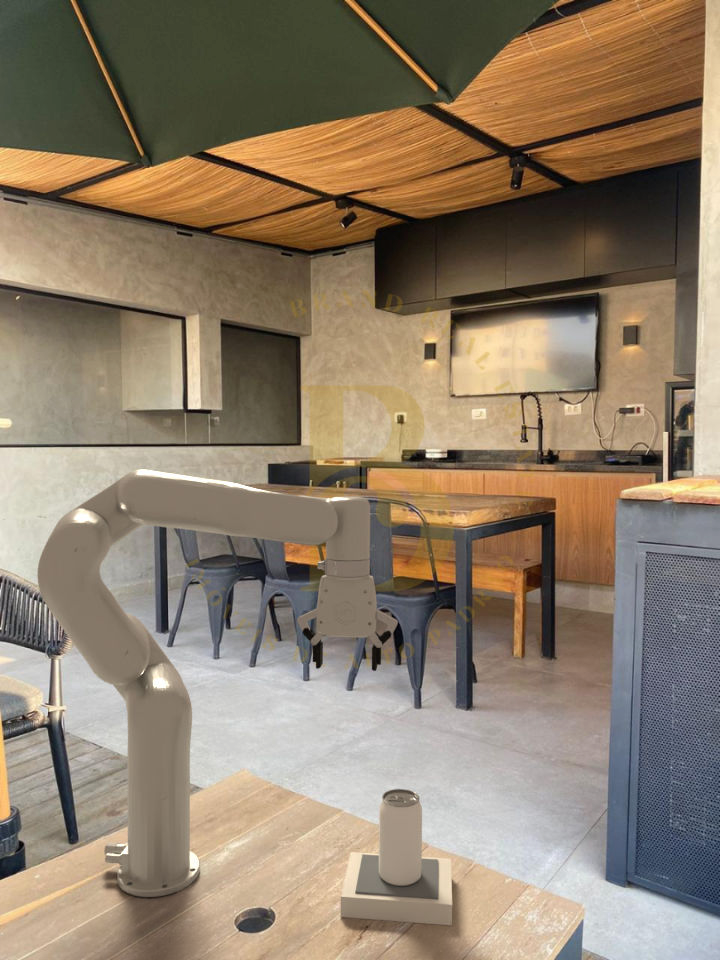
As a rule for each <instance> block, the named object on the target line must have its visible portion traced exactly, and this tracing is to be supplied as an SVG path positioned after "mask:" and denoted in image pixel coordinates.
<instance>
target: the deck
mask: <svg viewBox="0 0 720 960" xmlns="http://www.w3.org/2000/svg"><path fill="white" fill-rule="evenodd" d="M452 891H453V890H452V858H447V857H446V858H442V857H431V856H430V857H429V856H422V862H421V877H420V879H419V880H418V881H417V882H416V883H414V884H412V885H409V886H393V885H390V884H388V883H386V882H385V881H384V880H383V879H382V878H381V877H380V875H379V853H372V852H355V851H350V854H349V859H348V862H347V866H346V872H345V876H344V881H343V885H342V890H341V895H340V918H350V919H363V920H377V921H387V922H388V921H389V922H402V923H403V922H404V923H415V924H427V925H439V926H441V925H442V926H453V892H452Z"/></svg>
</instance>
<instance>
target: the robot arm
mask: <svg viewBox="0 0 720 960" xmlns="http://www.w3.org/2000/svg"><path fill="white" fill-rule="evenodd" d="M370 504H371V503H370V502H369V500H368V499H367V498H365V497H361V496H334V497H330V498H329V497H317V496H309V495H295V494H289V493H288V494H287V493H280V492H274V491H268V490H263V489H258V488H254V487H250V486H246V485H243V484H239V483H235V482H231V481H228V480H227V481H226V480H220V479H211V478H204V477H199V476H191V475H184V474H179V473H177V474H176V473H171V472H164V471H158V470H156V471H155V470H151V469H144V468H142V469H140V468H139V469H135V470H132V471H130V472H128V473H127V474H125V475H123V476H122V477H121V478H119V479H118V480H117V481H115V482H114V483H111V485H109V486H107V487H105V488H104V489H103V490H102V491H100V492H98V493H97V494H96V495H93V496H92V497H90V498H89V499H87V500H86V501H84V502H82V503H81V504H80V505H78V506H76V507H75V508H73V509H71V510H70V511H69V512H67V513H65V514H64V515H63V516H62V517H61V518H60V519H59V520H58V522H57V523H56V525H55V526H54V528H53V529H52V532H51V534H50V536H49V537H48V539H47V541H46V543H45V545H44V546H43V549H42V552H41V555H40V558H39V561H38V564H37V585H38V590H39V592H40V596H41V597H42V600H43V602H44V604H45V605H46V607H47V609H48V610H49V611H50V613H51V614H52V615H53V618H55V620H56V621H57V622H58V624H59V625H60V627H61V628H62V630H63V631H64V633H65V635H67V637H68V639H70V641H71V642H72V644H73V645H74V646H75V648H76V649H77V651H78V652H79V653H80V654H81V656H82V657H83V658H84V660H85V661H86V663H87V664H88V667H89V668H90V669H91V672H93V674H94V675H96V677H97V678H98V679H100V680H101V681H103V682H104V683H106V684H109V685H112V686H113V687H114V688H115V689H116V691H117V692H118V693H119V695H120V696H121V697H122V698H123V701H125V706H126V716H127V757H126V758H127V759H126V760H127V766H126V768H127V769H126V770H127V772H126V773H127V775H126V777H127V778H126V779H127V781H126V782H127V841H126V842H125V843H119V842H111V841H107V843H106V844H105V845H104V851H103V852H104V855H105V857H104V862H105V863H108V864H119V868H118V870H117V874H116V875H117V877H116V878H117V885H118V886H119V887H120V889H121V890H122V891H124V892H125V893H127V894H129V895H132V896H136V897H141V898H157V897H164V896H167V895H171V894H174V893H176V892H180V891H181V890H183V889H185V888H186V887H188V886H190V885H191V884H192V883H193V882H194V881H195V880H196V879H197V877H198V875H199V873H200V869H201V862H200V859H199V857H198V855H196V854H195V853H194V852H192V851H191V850H190V848H191V839H190V838H191V824H190V823H191V817H190V816H191V810H190V809H191V808H190V807H191V803H190V802H191V789H190V787H191V739H192V727H193V708H192V707H193V706H192V701H191V698H190V694H189V691H188V689H187V687H186V685H185V683H184V682H183V679H182V677H181V675H180V673H179V671H178V670H177V668H176V667H175V666H174V664H173V663H172V662H171V660H170V659H169V658H168V656H167V654H166V653H165V652H164V651H163V650H162V648H161V646H160V645H159V644H158V642H157V641H156V639H155V638H154V637H153V636H152V634H151V633H150V632H149V630H148V628H147V627H146V626H145V625H144V624H143V623H142V621H141V620H140V619H139V618H137V617H136V616H135V615H133V614H131V613H128V612H125V611H124V609H123V608H122V606H121V605H120V604H119V602H118V601H117V600H116V597H115V596H114V595H113V593H112V592H111V591H110V589H109V588H108V587H107V585H106V584H105V583H104V581H103V579H102V576H101V570H100V569H101V564H102V563H103V562H104V560H105V558H106V557H107V555H108V554H109V552H110V551H109V550H110V548H111V547H112V546H114V545H116V544H117V543H118V542H120V541H122V540H123V539H125V538H126V537H127V536H129V535H131V534H132V533H133V532H134V531H136V530H138V529H140V527H142V526H143V525H145V526H153V527H161V528H170V529H179V530H180V529H181V530H189V531H197V532H203V533H210V534H219V535H225V536H230V537H231V536H232V537H243V538H254V539H261V540H269V541H276V542H282V543H283V542H284V543H292V544H299V545H307V546H308V545H309V546H317V545H321V544H324V543H325V559H324V560H318V561H317V567H316V568H317V569H318V570H322V571H323V572H324V575H322V576H321V577H320V581H319V584H318V585H319V586H318V594H317V603H316V604H317V606H316V608H314V609H312V610H310V611H309V612H307V613H305V614H302V615H300V616H298V617H297V619H296V621H297V624H298V626H299V628H300V630H301V631H302V635H304V637H305V638H306V639H307V640H309V642H310V644H311V645H312V663H315V669H317V670H318V669H321V667H322V666H323V663H324V661H323V660H324V659H323V658H324V657H323V656H324V655H323V654H324V653H323V651H324V642H323V641H322V639H323V637H331V638H333V637H334V638H337V637H338V638H339V637H340V638H361V639H362V638H368V639H369V640H370V641H371V643H372V644H373V645H372V647H371V670H372V671H373V672H376V671H377V669H378V666H381V664H382V646H383V645H384V644H385V643H386V642H387V641H388V640H390V638H391V637H392V635H393V634H394V632H395V630H396V628H397V626H398V623H399V622H398V620H397V619H396V618H395V617H392V616H390V615H388V614H386V613H384V612H383V611H381V610H379V609H378V607H377V591H376V586H375V580H374V576H373V575H370V567H371V566H370V565H371V563H370V561H371V560H370V558H371V554H370V552H371V549H370V548H371V547H370V546H371V506H370ZM314 619H316V623H315V624H316V632H315V631H314V630H313V629H312V628H311V627H310V626H309V621H311V620H314ZM378 621H379V622H383V624H385V625H387V627H386V629H385V631H383V632H382V633H381V634H380V633H379V632H378V631H377V625H378Z"/></svg>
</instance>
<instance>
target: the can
mask: <svg viewBox="0 0 720 960" xmlns="http://www.w3.org/2000/svg"><path fill="white" fill-rule="evenodd" d="M381 798H382V800H381V801H380V805H379V812H378V813H379V815H378V816H379V817H378V820H379V821H378V822H379V823H378V825H379V826H378V854H379V875H380V877H381V878H382V879H383V880H384V881H385V882H386V883H388V884H390V885H393V886H409V885H412V884H414V883H416V882H417V881H418V880H419V879H420V877H421V862H422V857H423V856H422V855H423V853H422V852H423V849H422V848H423V808H422V804H421V801H420V795H419V794H418V793H416V792H415V791H412V790H410V789H406V788H405V789H403V788H396V789H395V788H394V789H389V790H387V791H386V792H384V793H383V795H381Z"/></svg>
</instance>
